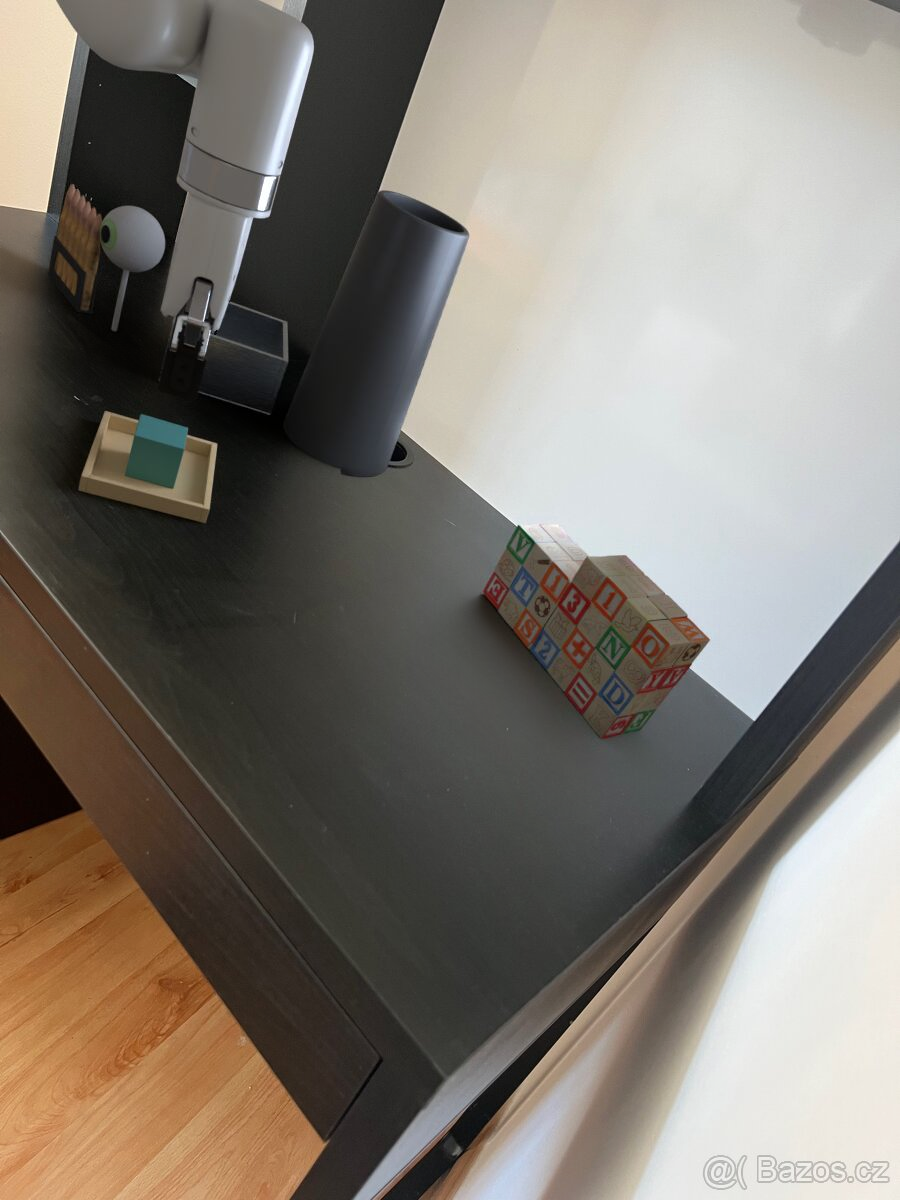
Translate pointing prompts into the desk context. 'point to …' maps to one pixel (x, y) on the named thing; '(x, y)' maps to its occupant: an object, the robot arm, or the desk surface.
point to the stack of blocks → (594, 626)
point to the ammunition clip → (77, 252)
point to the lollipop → (131, 245)
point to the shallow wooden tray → (110, 481)
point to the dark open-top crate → (244, 360)
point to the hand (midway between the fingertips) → (181, 372)
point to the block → (156, 451)
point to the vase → (376, 336)
